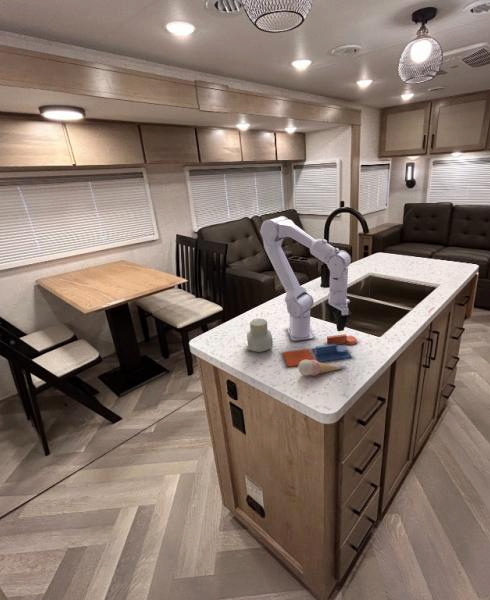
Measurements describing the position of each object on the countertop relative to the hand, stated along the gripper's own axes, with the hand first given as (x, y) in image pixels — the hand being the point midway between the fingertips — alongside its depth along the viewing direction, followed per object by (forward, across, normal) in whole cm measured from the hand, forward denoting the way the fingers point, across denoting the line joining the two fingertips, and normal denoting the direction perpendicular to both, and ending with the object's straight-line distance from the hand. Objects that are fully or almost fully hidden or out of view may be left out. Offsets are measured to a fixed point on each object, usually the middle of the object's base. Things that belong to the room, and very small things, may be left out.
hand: (336, 325), depth 110 cm
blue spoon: (+7, -5, +3) cm, 10 cm away
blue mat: (+8, -5, +3) cm, 10 cm away
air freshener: (+8, +4, +26) cm, 28 cm away
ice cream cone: (+8, -14, +10) cm, 19 cm away
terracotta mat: (+8, -5, +15) cm, 18 cm away
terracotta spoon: (+8, +1, -3) cm, 8 cm away
